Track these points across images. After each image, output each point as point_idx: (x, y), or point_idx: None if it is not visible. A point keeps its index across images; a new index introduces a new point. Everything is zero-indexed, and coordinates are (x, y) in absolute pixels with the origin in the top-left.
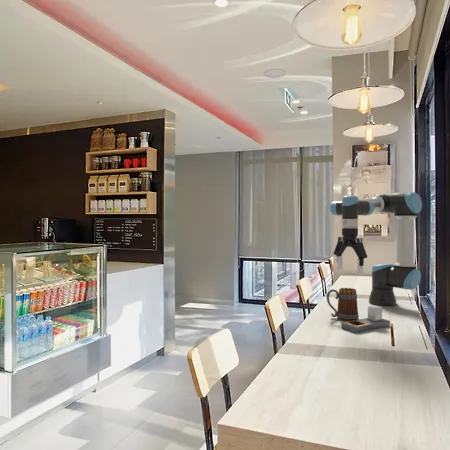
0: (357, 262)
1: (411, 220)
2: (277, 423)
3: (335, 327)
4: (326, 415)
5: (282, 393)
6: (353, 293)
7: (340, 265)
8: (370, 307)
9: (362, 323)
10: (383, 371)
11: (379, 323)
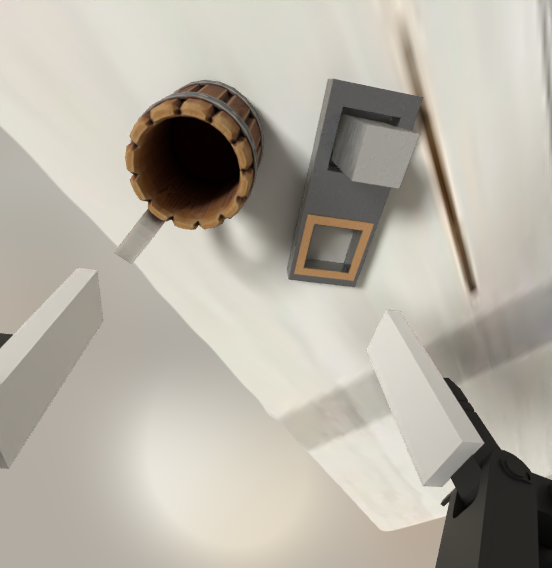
0: (405, 441)
1: None
2: (421, 515)
3: (268, 277)
4: None
5: (393, 496)
6: (251, 183)
7: (79, 325)
8: (367, 182)
9: (343, 226)
10: (483, 402)
11: None
